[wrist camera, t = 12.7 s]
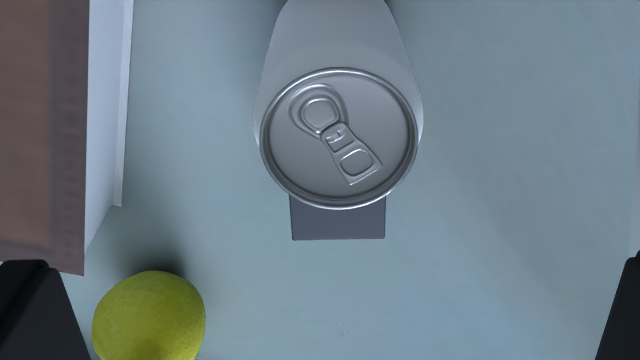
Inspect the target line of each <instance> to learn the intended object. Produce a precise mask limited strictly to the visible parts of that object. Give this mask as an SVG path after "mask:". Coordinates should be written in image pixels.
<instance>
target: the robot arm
mask: <svg viewBox="0 0 640 360" xmlns="http://www.w3.org/2000/svg"><path fill="white" fill-rule="evenodd" d="M0 360H91V358H90V356H89V353H88V350H87V347H86V344H85V342H84V339H83V336H82V333H81V331H80V328H79V325H78V322H77V320H76V317H75V314H74V311H73V309H72V306H71V303H70V300H69V298H68V295H67V292H66V289H65V287H64V284H63V281H62V278H61V276H60V273H59V271H58V270H57V269H56V268H50V266H49V264H48V263H47V262H46V261H45V260H42V259H20V260H7V261H4V262H3V263H2V264H1V265H0ZM595 360H640V250H639V251H638V252H637V255H636V257H631V258H629V259H628V260H627V261H626V263H625V266H624V269H623V272H622V276H621V279H620V282H619V285H618V288H617V291H616V295H615V298H614V301H613V304H612V307H611V310H610V314H609V317H608V320H607V323H606V326H605V329H604V333H603V336H602V339H601V342H600V345H599V348H598V352H597V355H596V358H595Z"/></svg>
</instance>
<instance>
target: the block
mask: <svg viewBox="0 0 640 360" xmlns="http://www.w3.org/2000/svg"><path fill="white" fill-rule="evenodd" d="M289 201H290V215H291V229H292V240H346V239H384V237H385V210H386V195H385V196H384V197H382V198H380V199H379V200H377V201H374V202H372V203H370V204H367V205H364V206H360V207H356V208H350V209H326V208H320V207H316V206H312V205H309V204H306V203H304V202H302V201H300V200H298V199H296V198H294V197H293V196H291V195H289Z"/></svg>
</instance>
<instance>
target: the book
mask: <svg viewBox="0 0 640 360" xmlns="http://www.w3.org/2000/svg"><path fill="white" fill-rule="evenodd" d="M133 3H134V0H0V261H1V262H4V261H7V260H20V259H42V260H45V261H46V262H47V263H48V264H49V266H50V268H56V269H57V270H58V271H59V272H64V273H70V274H75V275H81V276H84V254H85V252H86V250H87V248H88V246H89V244H90V243H91V241H92V239H93V237H94V236H95V234H96V232H97V230H98V229H99V227H100V225H101V223H102V222H103V220H104V218H105V216H106V215H107V213H108V211H109V209H110V208H111V206H112V205H113V206H118V207H121V202H122V186H123V169H124V152H125V136H126V119H127V103H128V86H129V69H130V53H131V36H132V19H133Z"/></svg>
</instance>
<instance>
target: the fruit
mask: <svg viewBox="0 0 640 360" xmlns="http://www.w3.org/2000/svg"><path fill="white" fill-rule="evenodd" d="M205 317H206V316H205V309H204V304H203V300H202V298H201V296H200V294H199V293H198V291H197V290H196V288H195V287H194V286H193V285H192V284H191V283H190V282H188V281H187V280H185V279H184V278H182V277H180V276H177V275H175V274H172V273H168V272H163V271H144V272H140V273H138V274H135V275H132V276H130V277H128V278H126V279H125V280H123V281H121V282H120V283H118V284H116V285H115V286H114V287H113V288H112V289H111V290H110V291H109V292H108V293H107V294H106V295H105V296H104V297H103V298H102V299H101V301H100V302H99V303H98V306H97V308H96V310H95V314H94V318H93V324H92V343H93V346H94V349H95V351H96V353H97V355H98V356H99V357H100V359H101V360H194V358H195V356H196V355H197V353H198V351H199V348H200V346H201V344H202V341H203V338H204V333H205Z"/></svg>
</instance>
